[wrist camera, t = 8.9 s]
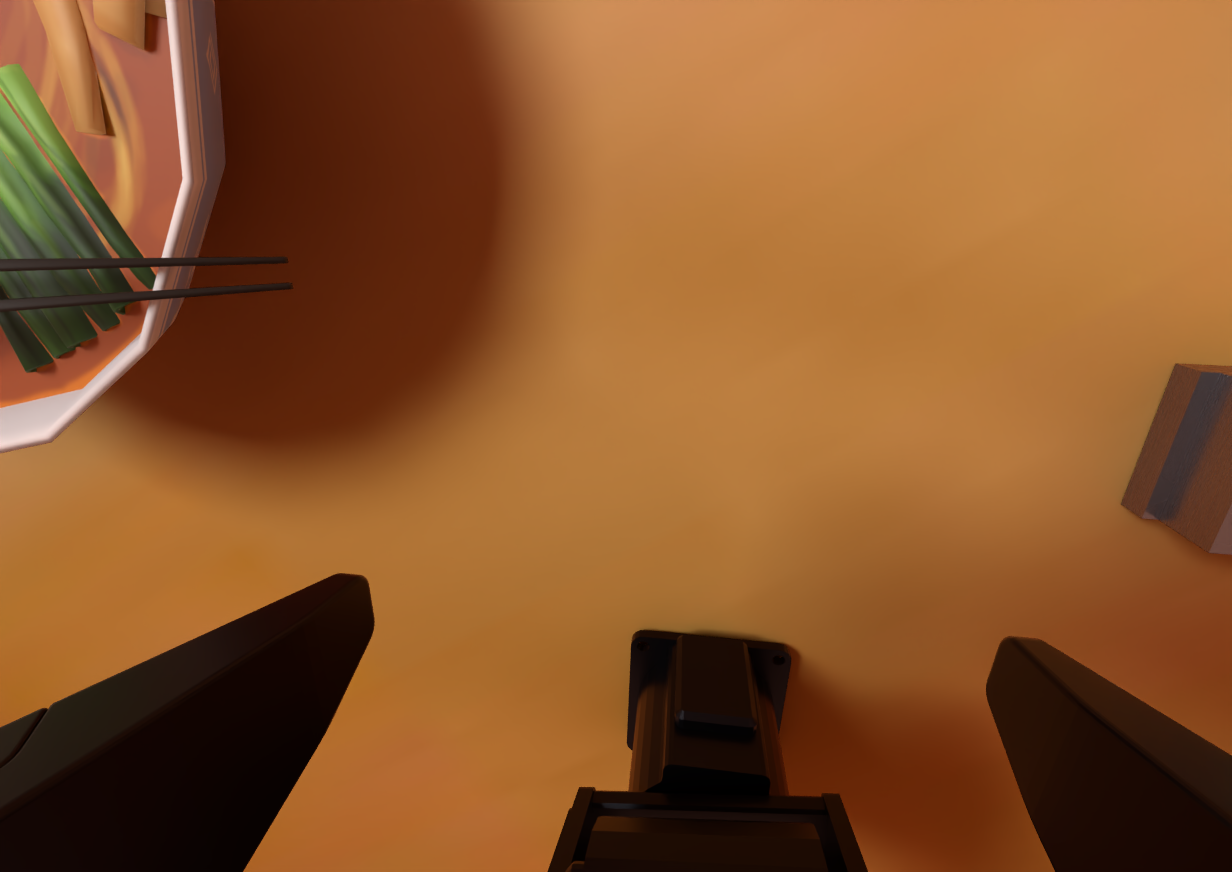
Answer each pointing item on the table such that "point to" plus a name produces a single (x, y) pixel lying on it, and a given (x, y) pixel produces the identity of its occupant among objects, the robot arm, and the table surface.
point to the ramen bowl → (100, 194)
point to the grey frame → (1189, 459)
